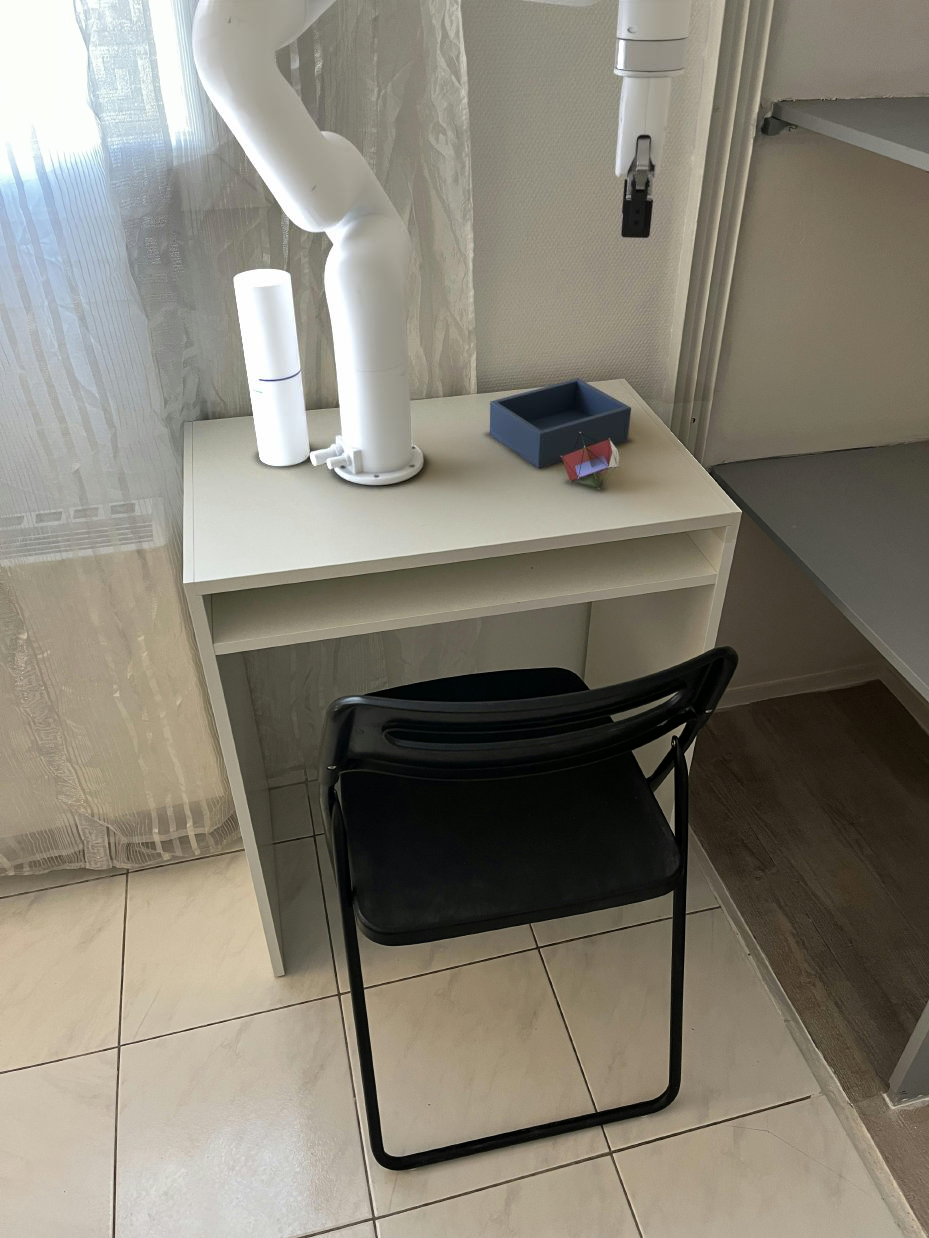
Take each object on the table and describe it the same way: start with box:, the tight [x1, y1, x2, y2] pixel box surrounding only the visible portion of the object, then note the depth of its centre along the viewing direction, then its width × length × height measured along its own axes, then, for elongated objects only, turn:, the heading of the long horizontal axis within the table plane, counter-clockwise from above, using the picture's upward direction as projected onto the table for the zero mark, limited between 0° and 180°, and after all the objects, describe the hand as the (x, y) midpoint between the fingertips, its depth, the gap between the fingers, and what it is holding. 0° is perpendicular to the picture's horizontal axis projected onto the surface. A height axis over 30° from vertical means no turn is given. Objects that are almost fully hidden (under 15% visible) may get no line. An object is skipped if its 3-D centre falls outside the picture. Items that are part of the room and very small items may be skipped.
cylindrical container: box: [233, 268, 311, 467], centre depth 127 cm, size 7×7×25 cm
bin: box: [489, 378, 632, 469], centre depth 137 cm, size 16×13×5 cm
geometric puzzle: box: [561, 432, 620, 489], centre depth 126 cm, size 7×7×8 cm
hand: (635, 225), depth 110 cm, fingers open, 9 cm apart
